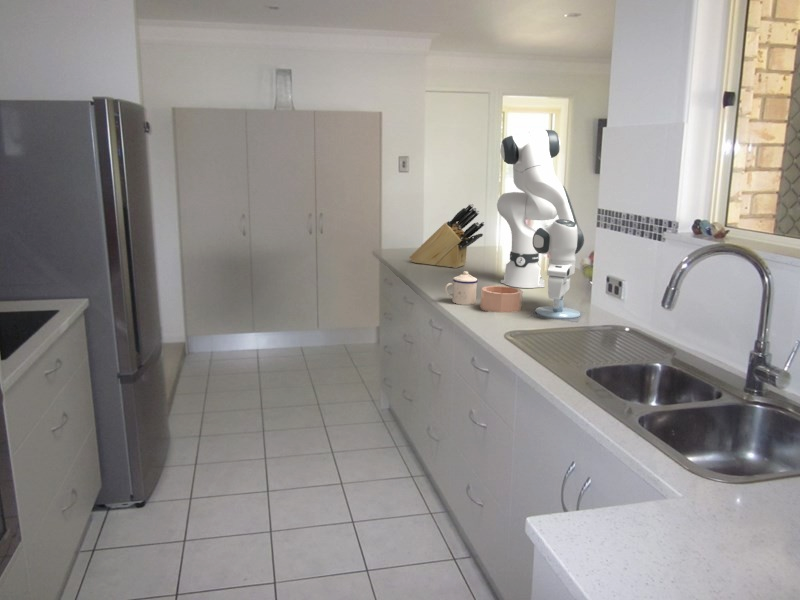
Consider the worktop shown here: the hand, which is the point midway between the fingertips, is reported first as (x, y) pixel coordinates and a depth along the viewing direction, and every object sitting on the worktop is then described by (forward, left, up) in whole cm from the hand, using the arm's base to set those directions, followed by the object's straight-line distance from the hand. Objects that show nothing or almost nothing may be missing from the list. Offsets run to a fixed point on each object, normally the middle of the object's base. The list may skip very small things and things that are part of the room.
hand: (558, 306), depth 225 cm
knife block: (-75, -69, -3) cm, 102 cm away
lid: (0, 0, -2) cm, 2 cm away
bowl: (+1, -20, -3) cm, 20 cm away
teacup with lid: (-1, -36, -3) cm, 36 cm away
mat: (0, 0, -3) cm, 3 cm away
